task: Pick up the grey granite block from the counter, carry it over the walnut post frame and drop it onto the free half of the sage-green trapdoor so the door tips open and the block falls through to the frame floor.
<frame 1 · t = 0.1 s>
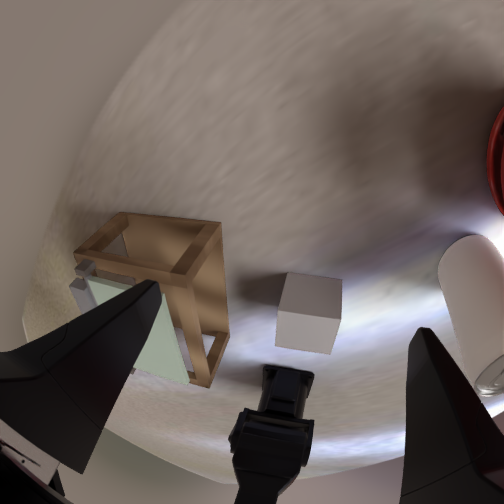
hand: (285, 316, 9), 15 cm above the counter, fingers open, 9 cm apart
trapdoor: (129, 334, 25), point 8 cm above the counter, hinge at 0.0°
can: (466, 262, 21), on the counter
frame: (176, 280, 31), on the counter
stone: (311, 294, 28), on the counter
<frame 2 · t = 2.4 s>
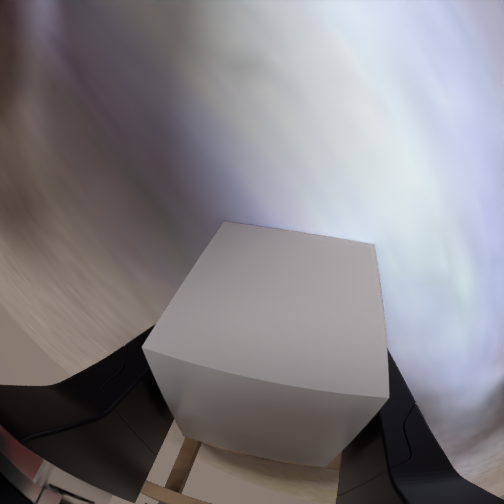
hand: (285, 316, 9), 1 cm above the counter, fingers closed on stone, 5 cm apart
frame: (279, 437, 18), on the counter
stone: (290, 294, 10), on the counter, touching gripper
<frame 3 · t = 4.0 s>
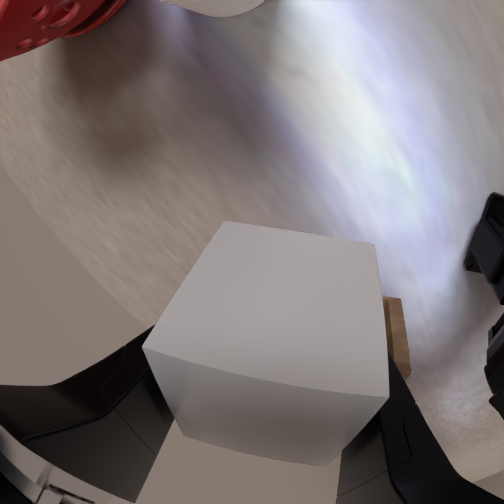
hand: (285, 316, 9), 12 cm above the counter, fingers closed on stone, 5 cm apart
frame: (303, 329, 27), on the counter
stone: (290, 294, 10), point 11 cm above the counter, touching gripper
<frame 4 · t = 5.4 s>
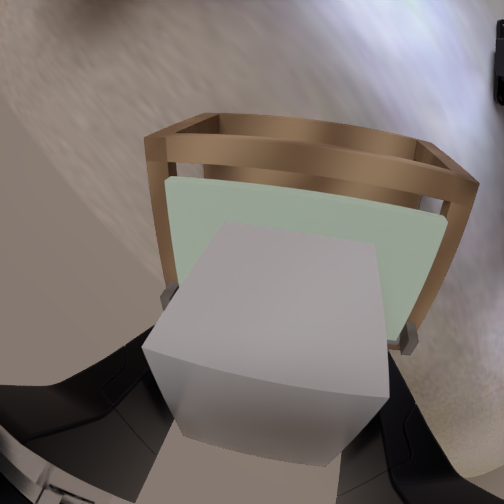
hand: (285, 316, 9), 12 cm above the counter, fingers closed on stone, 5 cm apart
trapdoor: (293, 289, 14), point 8 cm above the counter, hinge at 0.0°
frame: (310, 198, 20), on the counter
stone: (290, 294, 10), point 11 cm above the counter, touching gripper
when the fingers open (12 cm above the counter, at t = 5.9 s): stone drops 5 cm, resting on frame, trapdoor.
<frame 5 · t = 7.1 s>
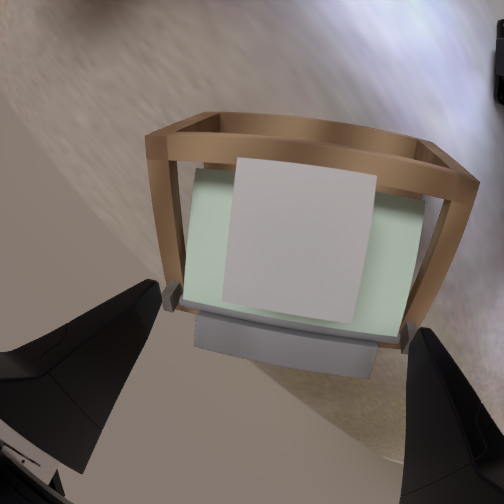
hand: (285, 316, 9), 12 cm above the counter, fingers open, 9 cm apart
trapdoor: (296, 277, 15), point 7 cm above the counter, hinge at -25.8°, touching stone
frame: (311, 197, 20), on the counter
stone: (303, 228, 14), point 6 cm above the counter, tilted 25°, touching frame, trapdoor
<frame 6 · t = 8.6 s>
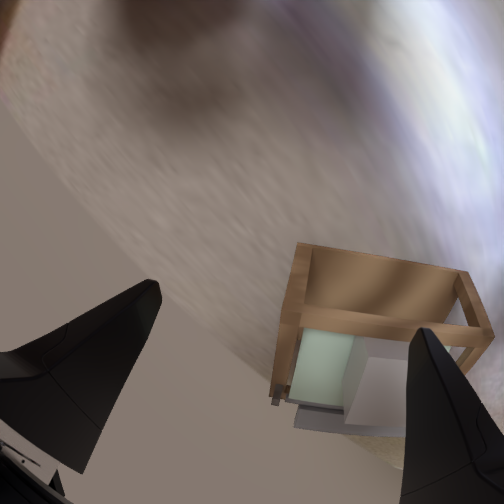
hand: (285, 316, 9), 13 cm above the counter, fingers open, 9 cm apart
trapdoor: (369, 382, 20), point 7 cm above the counter, hinge at -30.0°, touching stone
frame: (372, 308, 25), on the counter
stone: (379, 356, 19), point 6 cm above the counter, tilted 24°, touching trapdoor
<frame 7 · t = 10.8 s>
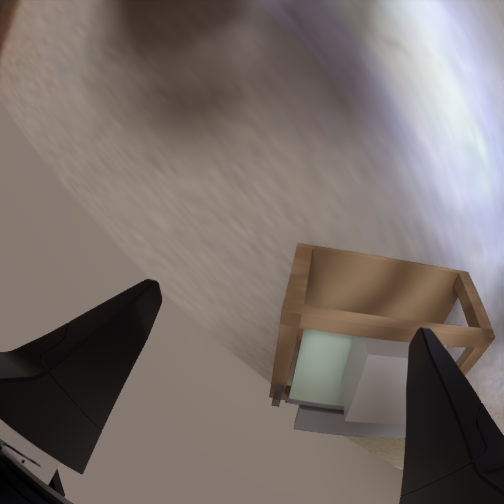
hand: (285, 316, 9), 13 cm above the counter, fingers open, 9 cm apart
trapdoor: (369, 381, 20), point 7 cm above the counter, hinge at -36.9°, touching stone
frame: (373, 308, 25), on the counter
stone: (379, 355, 19), point 6 cm above the counter, tilted 25°, touching frame, trapdoor
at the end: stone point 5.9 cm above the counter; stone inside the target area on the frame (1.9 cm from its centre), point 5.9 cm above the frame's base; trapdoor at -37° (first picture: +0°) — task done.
